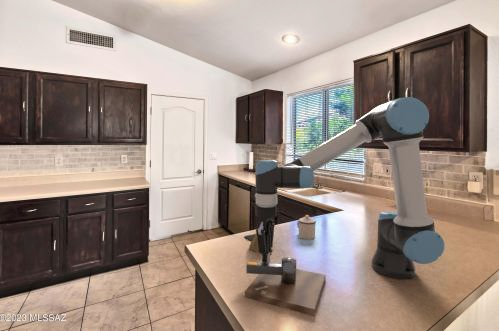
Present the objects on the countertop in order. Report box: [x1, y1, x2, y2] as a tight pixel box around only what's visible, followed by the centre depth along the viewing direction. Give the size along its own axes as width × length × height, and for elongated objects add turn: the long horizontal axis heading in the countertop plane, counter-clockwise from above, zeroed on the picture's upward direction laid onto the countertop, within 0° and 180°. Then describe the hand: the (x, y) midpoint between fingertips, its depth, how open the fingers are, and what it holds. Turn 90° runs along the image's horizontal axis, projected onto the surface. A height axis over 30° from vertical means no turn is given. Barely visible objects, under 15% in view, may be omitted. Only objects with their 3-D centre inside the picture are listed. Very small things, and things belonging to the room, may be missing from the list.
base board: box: [244, 268, 326, 317], centre depth 89 cm, size 22×22×2 cm
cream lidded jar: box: [296, 214, 316, 240], centre depth 141 cm, size 12×9×12 cm
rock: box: [248, 232, 273, 255], centre depth 119 cm, size 11×9×10 cm
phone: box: [243, 233, 256, 242], centre depth 139 cm, size 7×1×15 cm
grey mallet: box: [245, 256, 297, 284], centre depth 90 cm, size 17×5×8 cm, turn 85°
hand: (265, 270), depth 92 cm, fingers closed
